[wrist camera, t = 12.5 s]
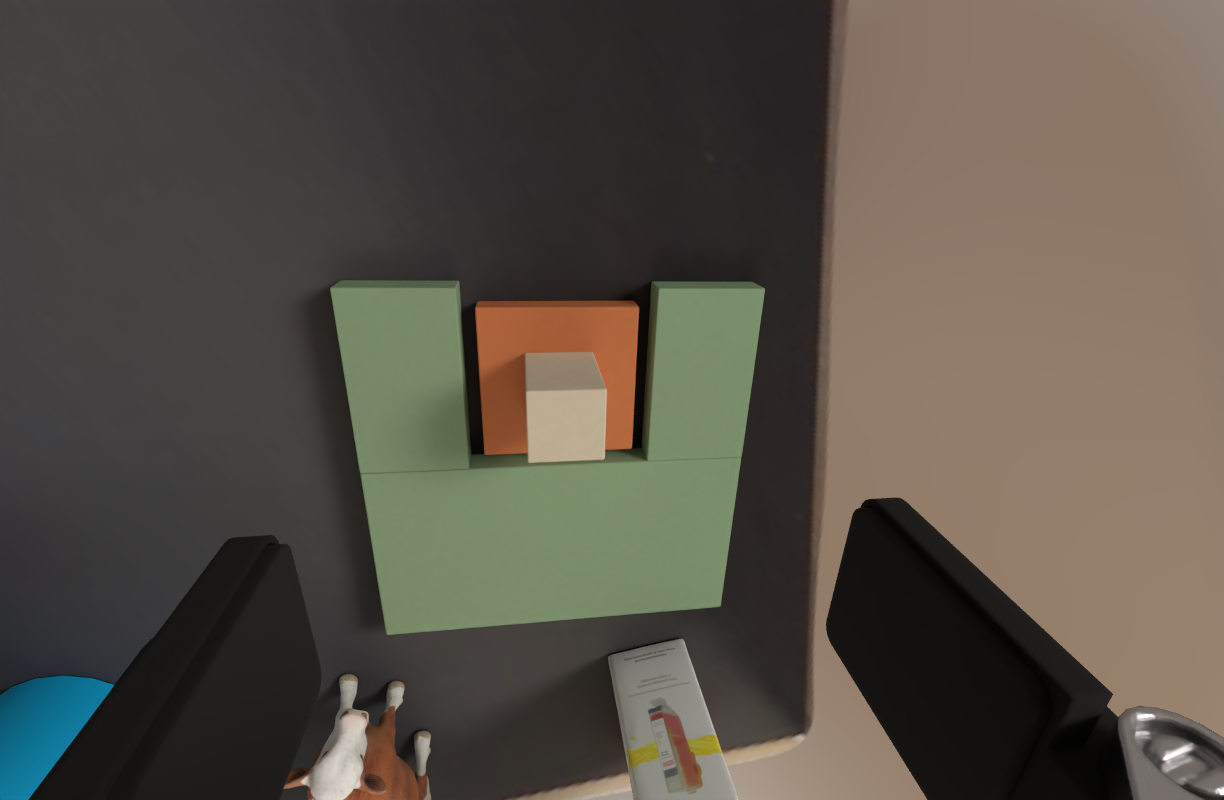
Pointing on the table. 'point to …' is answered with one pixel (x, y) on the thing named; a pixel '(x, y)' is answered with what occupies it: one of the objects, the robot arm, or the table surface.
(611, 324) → the terracotta pad
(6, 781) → the mug
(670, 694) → the ink box
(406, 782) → the bull figurine
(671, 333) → the green mat
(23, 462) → the table surface
